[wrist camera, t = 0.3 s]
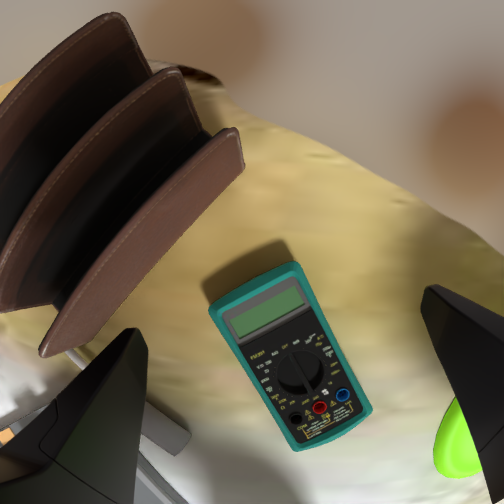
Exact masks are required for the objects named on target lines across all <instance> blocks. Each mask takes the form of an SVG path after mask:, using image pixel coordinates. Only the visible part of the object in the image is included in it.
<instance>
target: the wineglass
mask: <svg viewBox="0 0 504 504" xmlns="http://www.w3.org/2000/svg"><path fill="white" fill-rule="evenodd" d="M433 455H434V464H435V466H436V468H437V470H438V472H439V473H441V474H442V475H444V476H445V477H448V478H457V479H460V478H464V477H468V476H472V475H474V474H476V473H478V472H480V471H482V467H481V464H480V461H479V457H478V453H477V451H476V448H475V445H474V442H473V440H472V437H471V434H470V431H469V429H468V426H467V423H466V421H465V418H464V415H463V413H462V410H461V408H460V405H459V403H458V401H457V398H456V397H455V399H454V401H453V402H452V404H451V406H450V408H449V409H448V411H447V413H446V414H445V416H444V418H443V421H442V423H441V425H440V428H439V430H438V433H437V435H436V440H435V445H434V449H433Z"/></svg>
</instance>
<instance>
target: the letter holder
mask: <svg viewBox="0 0 504 504" xmlns="http://www.w3.org/2000/svg"><path fill="white" fill-rule="evenodd" d="M244 169H245V163H244V159H243V153H242V147H241V142H240V136H239V131H238V129H237V128H235V127H232V128H224V129H222V130H221V131H219V132H218V133H217V134H216V135H214V136H213V137H212V136H211V135H210V134H209V133H208V132H207V131H206V130H204V129H203V127H202V124H201V122H200V120H199V117H198V115H197V112H196V109H195V107H194V105H193V102H192V99H191V97H190V94H189V92H188V89H187V86H186V84H185V81H184V78H183V75H182V73H181V71H180V70H179V69H178V68H176V67H169V68H165V69H162V70H160V71H159V72H157V73H156V74H153V72H152V71H151V68H150V67H149V64H148V63H147V61H146V59H145V57H144V55H143V53H142V51H141V49H140V47H139V45H138V43H137V40H136V38H135V36H134V34H133V32H132V30H131V28H130V26H129V24H128V22H127V20H126V18H125V17H124V16H123V15H121V14H120V13H117V12H111V13H105V14H102V15H100V16H98V17H96V18H94V19H93V20H91V21H90V22H88V23H87V24H85V25H84V26H83V27H81V28H80V29H78V30H77V31H76V32H75V33H73V34H72V35H70V36H69V37H67V38H66V39H65V40H64V41H62V42H61V43H60V44H59V45H57V46H56V47H55V48H54V49H53V50H51V52H49V53H48V54H47V55H46V56H45V57H44V58H42V59H41V61H39V62H38V63H37V64H36V65H35V66H34V67H33V68H32V69H31V70H30V71H29V72H28V73H27V74H26V75H25V76H24V77H23V78H22V79H21V80H20V81H19V83H18V84H17V85H16V86H15V87H14V88H13V89H12V90H11V92H10V93H9V94H8V95H7V96H6V98H5V99H4V100H3V101H2V103H1V104H0V313H7V312H12V311H17V310H20V309H27V308H32V307H38V306H44V305H50V304H52V305H53V306H54V307H55V308H56V310H57V311H58V312H59V313H58V315H57V316H56V318H55V320H54V322H53V323H52V325H51V327H50V328H49V330H48V332H47V333H46V335H45V337H44V339H43V340H42V342H41V344H40V345H39V348H38V351H39V356H40V357H42V358H48V357H51V356H54V355H56V354H58V353H62V352H65V351H67V350H69V349H73V348H76V347H78V346H81V345H83V344H85V343H88V342H90V341H91V340H92V339H93V338H94V336H95V335H96V334H97V333H98V331H99V330H100V329H101V327H102V326H103V325H104V324H105V323H106V321H107V320H108V319H109V318H110V316H111V315H112V314H113V313H114V312H115V311H116V309H117V308H118V307H119V306H120V304H121V303H122V302H123V301H124V300H125V299H126V297H127V296H128V295H129V294H130V293H131V292H132V291H133V289H134V288H135V287H136V286H137V285H138V284H139V282H140V281H141V280H142V279H143V278H144V277H145V275H146V274H147V273H148V272H149V271H150V270H151V269H152V267H153V266H154V265H155V264H156V263H157V262H158V261H159V260H160V259H161V257H162V256H163V255H164V254H165V253H166V252H167V251H168V250H169V249H170V248H171V246H172V245H173V244H174V243H175V242H176V241H177V240H178V238H179V237H181V236H182V235H183V233H184V232H185V231H186V230H187V229H188V228H189V227H190V226H191V225H192V224H193V222H194V221H195V220H196V219H197V218H198V217H199V216H200V215H201V214H202V213H203V212H204V211H205V210H206V209H207V208H208V206H209V205H210V204H211V203H212V202H213V201H214V200H215V199H216V198H217V197H218V196H219V195H220V194H221V193H222V192H223V191H224V190H225V189H226V187H227V186H228V185H229V184H230V183H231V182H232V181H234V179H235V178H236V177H237V176H239V175H240V174H241V173H242V172H243V170H244Z"/></svg>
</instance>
